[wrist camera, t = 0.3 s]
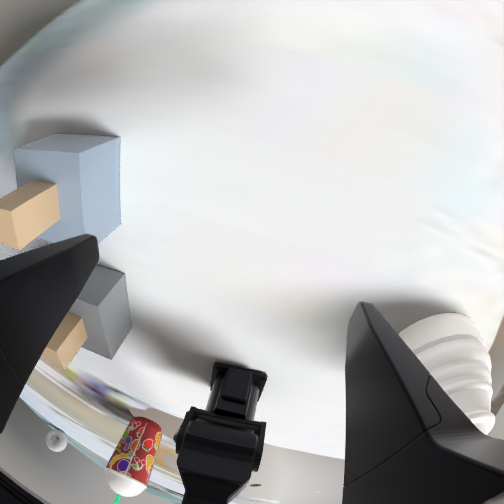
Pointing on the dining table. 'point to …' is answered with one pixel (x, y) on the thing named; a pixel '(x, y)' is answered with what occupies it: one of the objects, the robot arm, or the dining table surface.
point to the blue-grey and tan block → (63, 190)
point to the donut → (52, 436)
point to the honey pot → (456, 362)
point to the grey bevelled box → (93, 319)
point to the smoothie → (133, 458)
